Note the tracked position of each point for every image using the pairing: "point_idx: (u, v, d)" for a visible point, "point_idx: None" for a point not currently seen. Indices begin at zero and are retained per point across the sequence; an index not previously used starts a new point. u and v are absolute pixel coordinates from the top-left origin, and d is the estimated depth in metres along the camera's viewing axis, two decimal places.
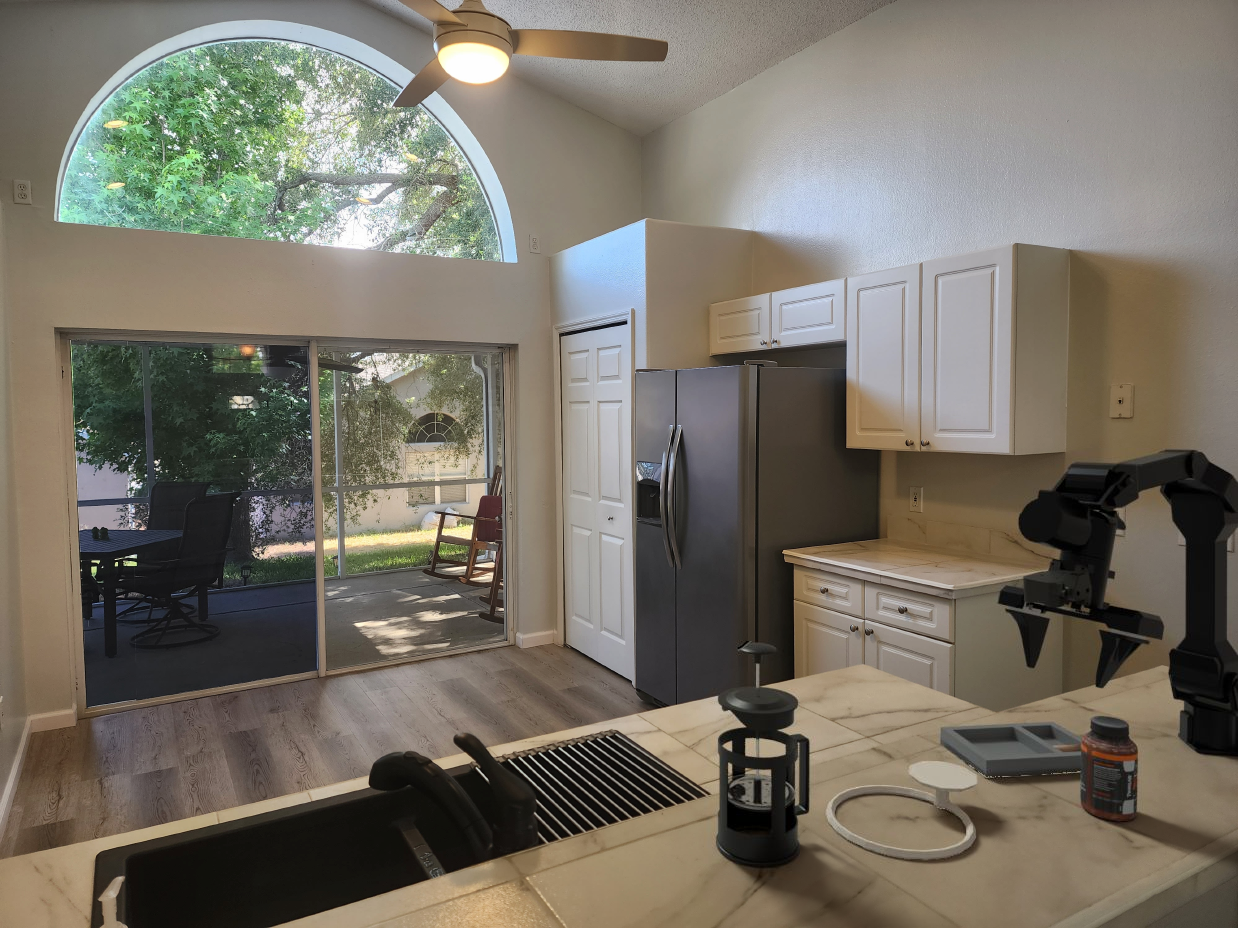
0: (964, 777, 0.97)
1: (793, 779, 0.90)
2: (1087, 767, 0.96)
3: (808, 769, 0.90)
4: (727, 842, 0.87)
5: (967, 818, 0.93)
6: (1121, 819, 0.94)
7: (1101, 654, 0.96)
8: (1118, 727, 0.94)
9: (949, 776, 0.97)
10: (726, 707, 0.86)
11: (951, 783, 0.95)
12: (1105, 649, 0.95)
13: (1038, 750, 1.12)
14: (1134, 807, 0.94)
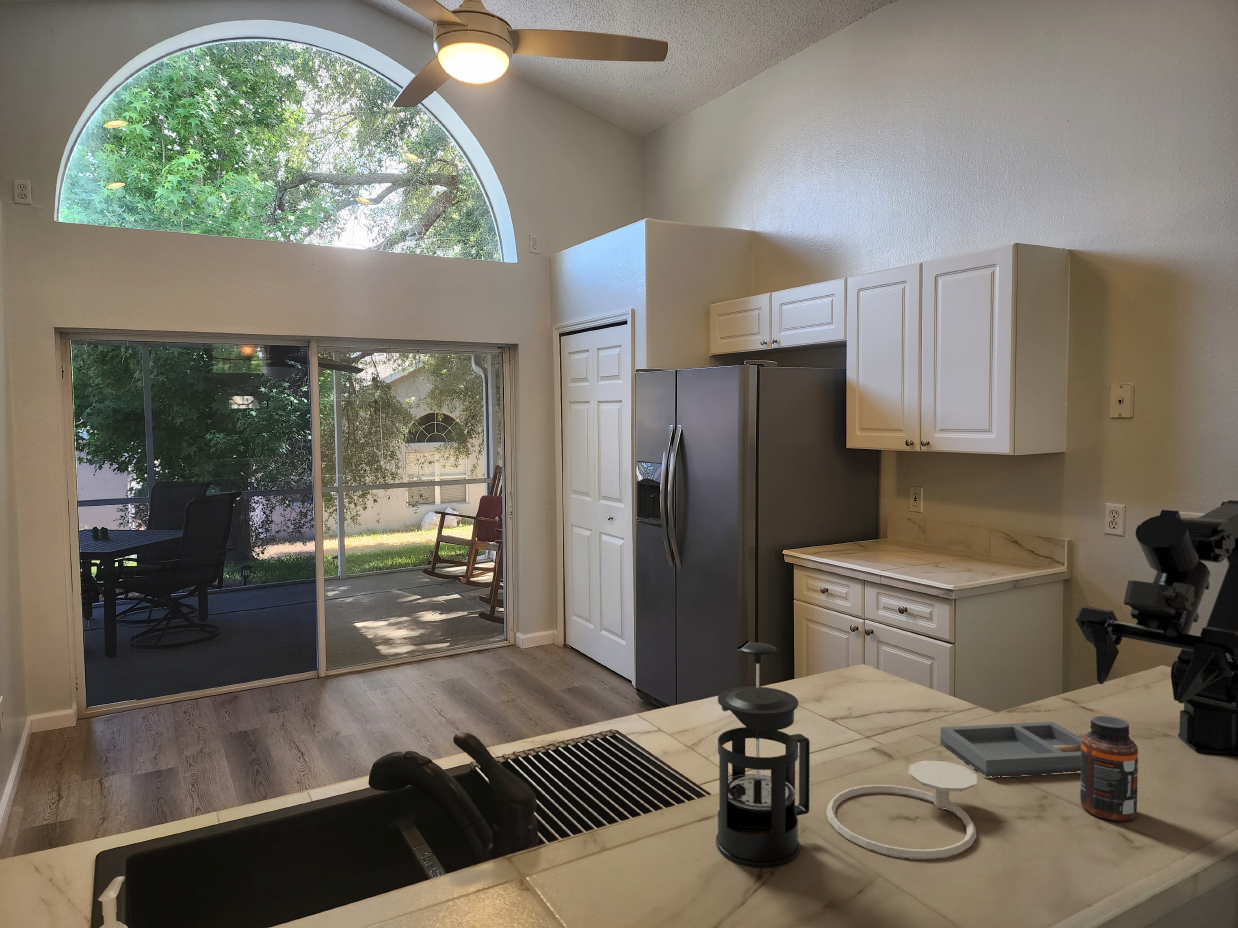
0: (964, 776, 0.97)
1: (793, 779, 0.90)
2: (1087, 767, 0.96)
3: (808, 769, 0.90)
4: (727, 842, 0.87)
5: (967, 817, 0.93)
6: (1121, 819, 0.94)
7: (1189, 669, 0.98)
8: (1118, 727, 0.94)
9: (949, 776, 0.98)
10: (726, 707, 0.86)
11: (951, 783, 0.96)
12: (1195, 664, 0.98)
13: (1038, 750, 1.12)
14: (1134, 807, 0.94)
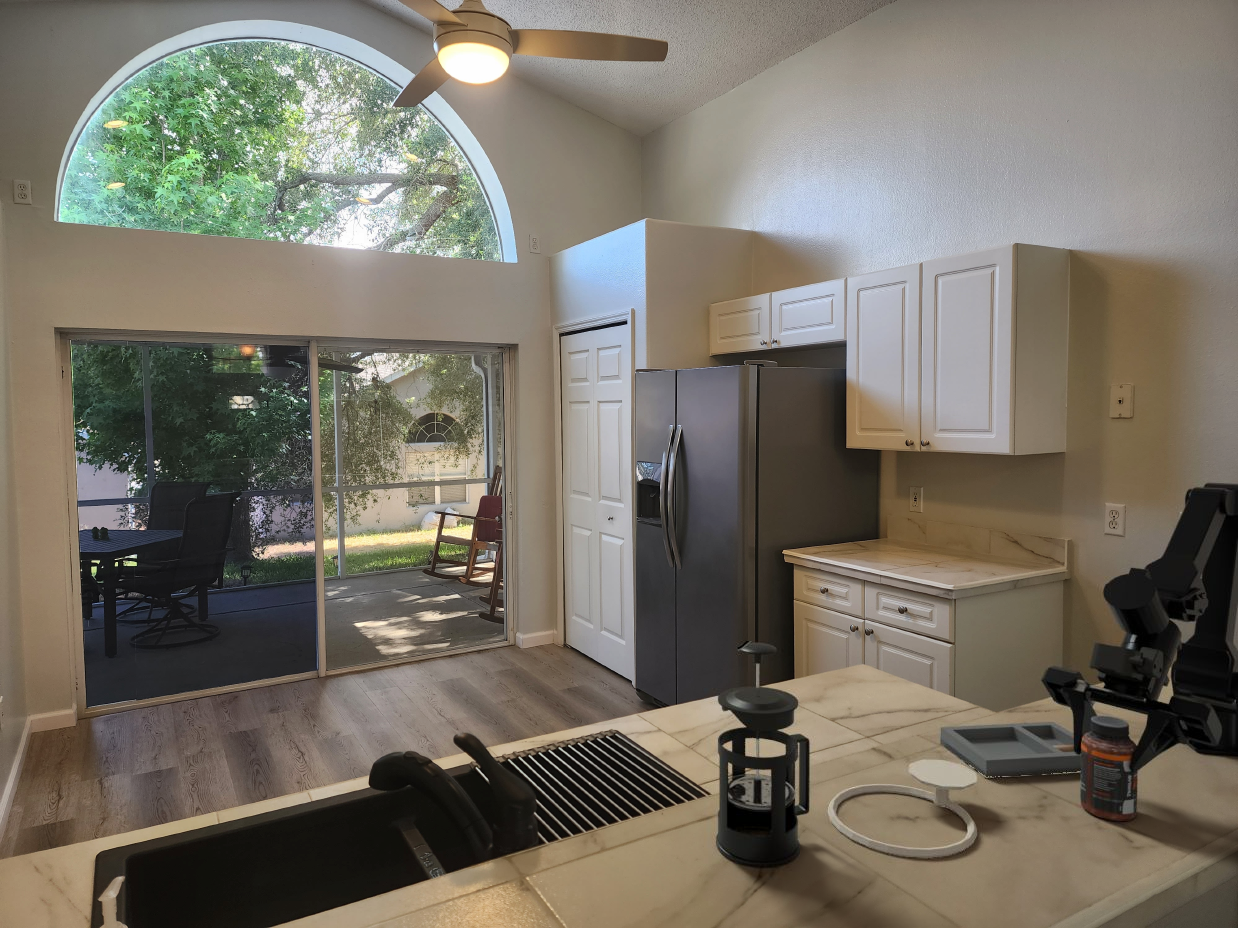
0: (964, 775, 0.98)
1: (793, 779, 0.90)
2: (1087, 767, 0.96)
3: (808, 769, 0.90)
4: (727, 842, 0.87)
5: (968, 816, 0.94)
6: (1121, 819, 0.94)
7: (1143, 736, 0.94)
8: (1118, 727, 0.94)
9: (948, 774, 0.98)
10: (726, 707, 0.86)
11: (951, 781, 0.96)
12: (1148, 731, 0.94)
13: (1038, 750, 1.12)
14: (1134, 807, 0.94)
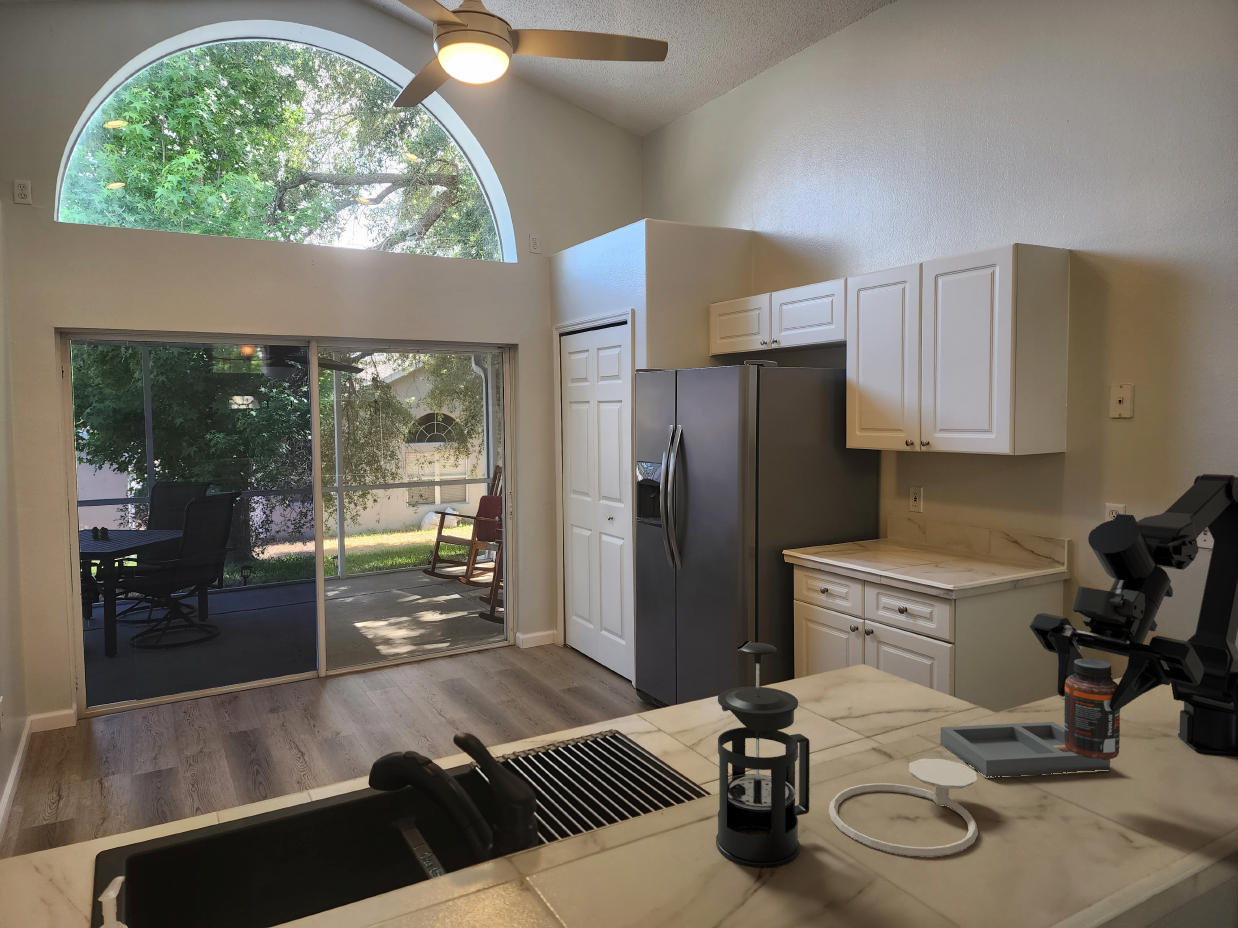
0: (964, 774, 0.98)
1: (793, 779, 0.90)
2: (1070, 708, 0.98)
3: (808, 769, 0.90)
4: (727, 842, 0.87)
5: (968, 814, 0.94)
6: (1102, 757, 0.96)
7: (1124, 676, 0.95)
8: (1100, 667, 0.96)
9: (948, 773, 0.98)
10: (726, 707, 0.86)
11: (951, 780, 0.96)
12: (1129, 671, 0.95)
13: (1038, 750, 1.12)
14: (1116, 746, 0.96)
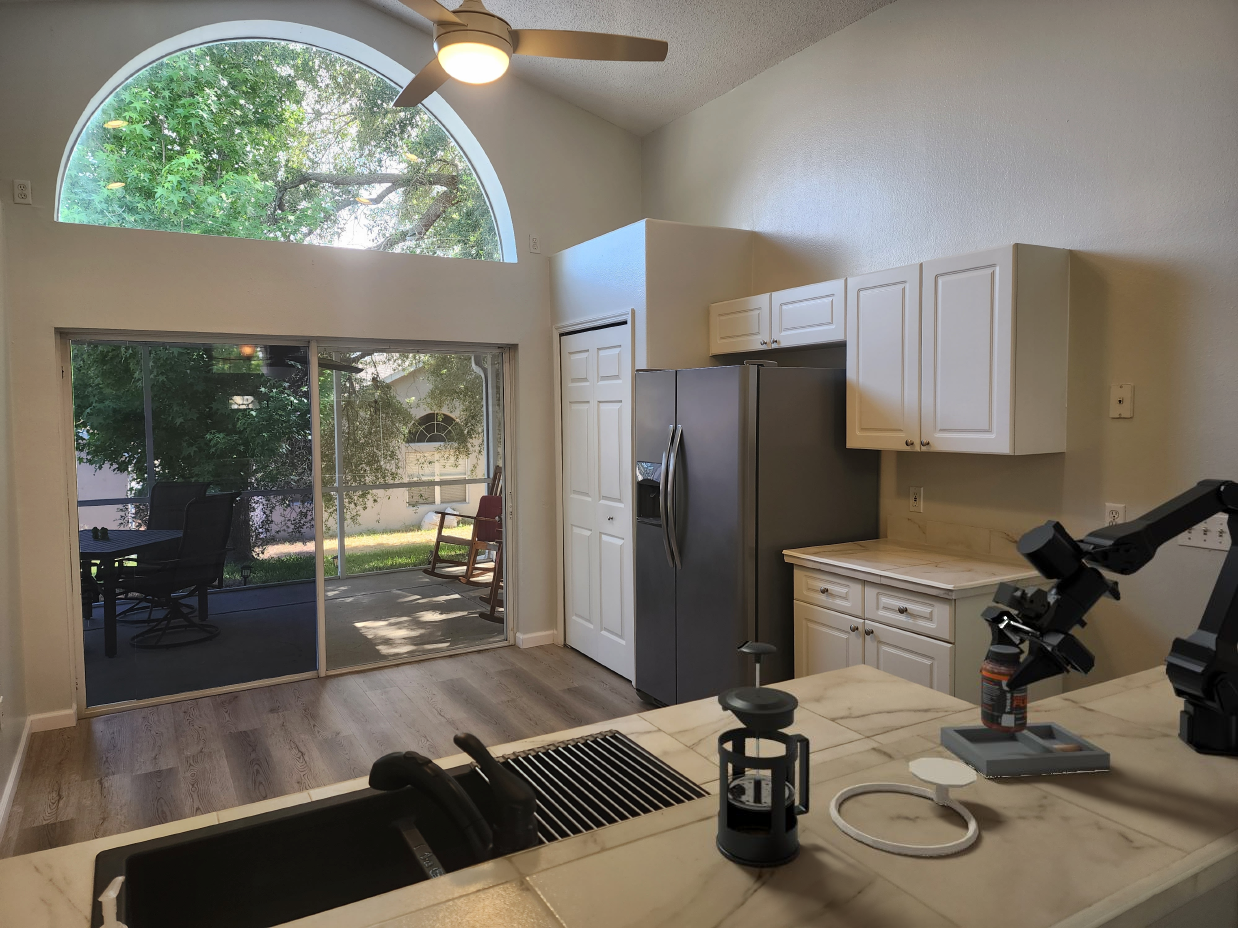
0: (964, 773, 0.98)
1: (793, 779, 0.90)
2: (981, 685, 1.13)
3: (808, 769, 0.90)
4: (727, 842, 0.87)
5: (968, 813, 0.94)
6: (1001, 729, 1.10)
7: (1022, 661, 1.09)
8: (1003, 652, 1.10)
9: (948, 772, 0.99)
10: (726, 707, 0.86)
11: (951, 779, 0.97)
12: (1027, 657, 1.08)
13: (1038, 750, 1.12)
14: (1016, 722, 1.09)
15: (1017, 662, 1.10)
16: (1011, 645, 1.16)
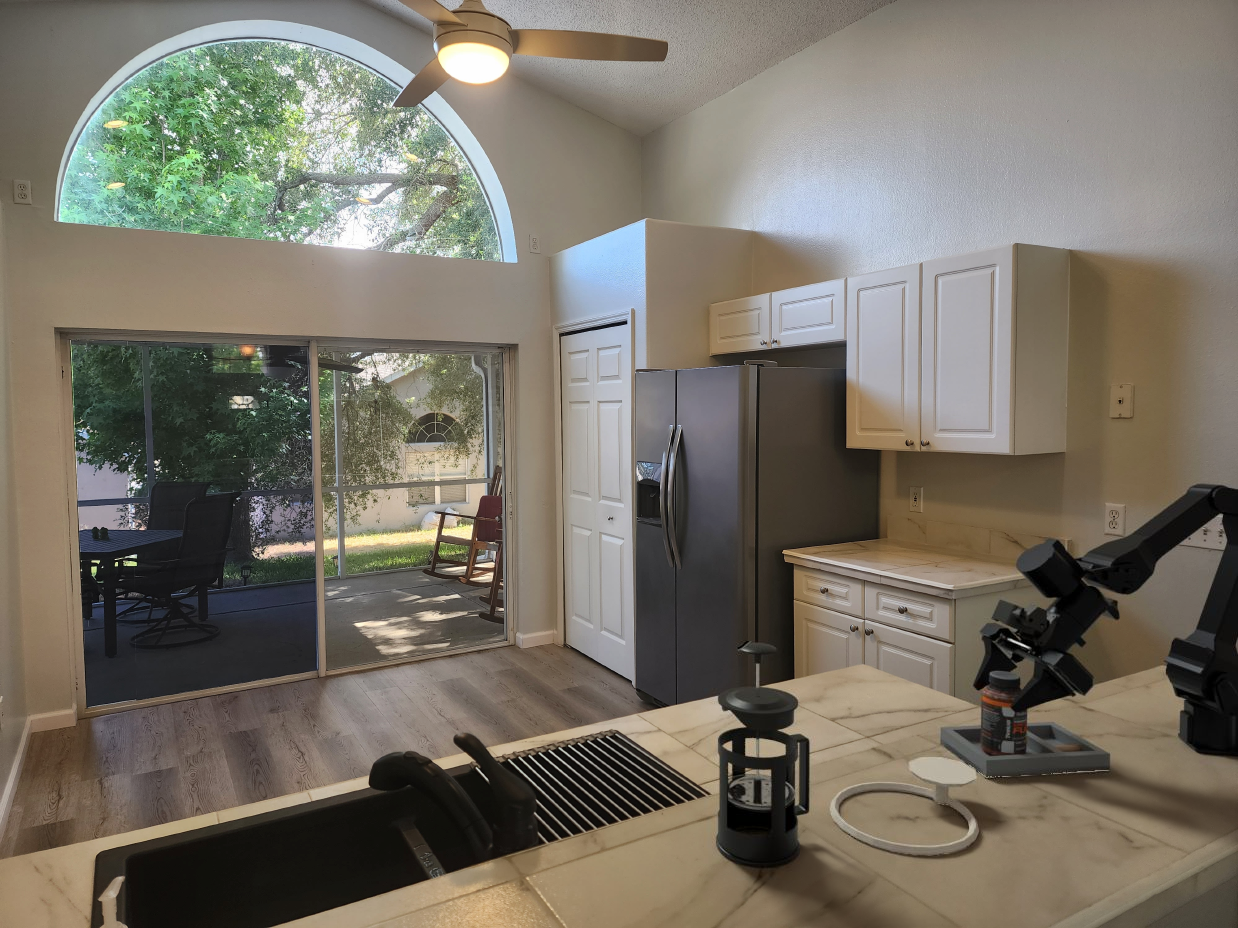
0: (964, 772, 0.99)
1: (793, 779, 0.90)
2: (981, 711, 1.13)
3: (808, 769, 0.90)
4: (727, 842, 0.87)
5: (968, 812, 0.95)
6: None
7: (1028, 683, 1.07)
8: (1003, 678, 1.11)
9: (948, 771, 0.99)
10: (726, 707, 0.86)
11: (951, 779, 0.97)
12: (1032, 679, 1.07)
13: (1038, 750, 1.12)
14: (1015, 749, 1.10)
15: (1017, 689, 1.11)
16: (1004, 660, 1.18)
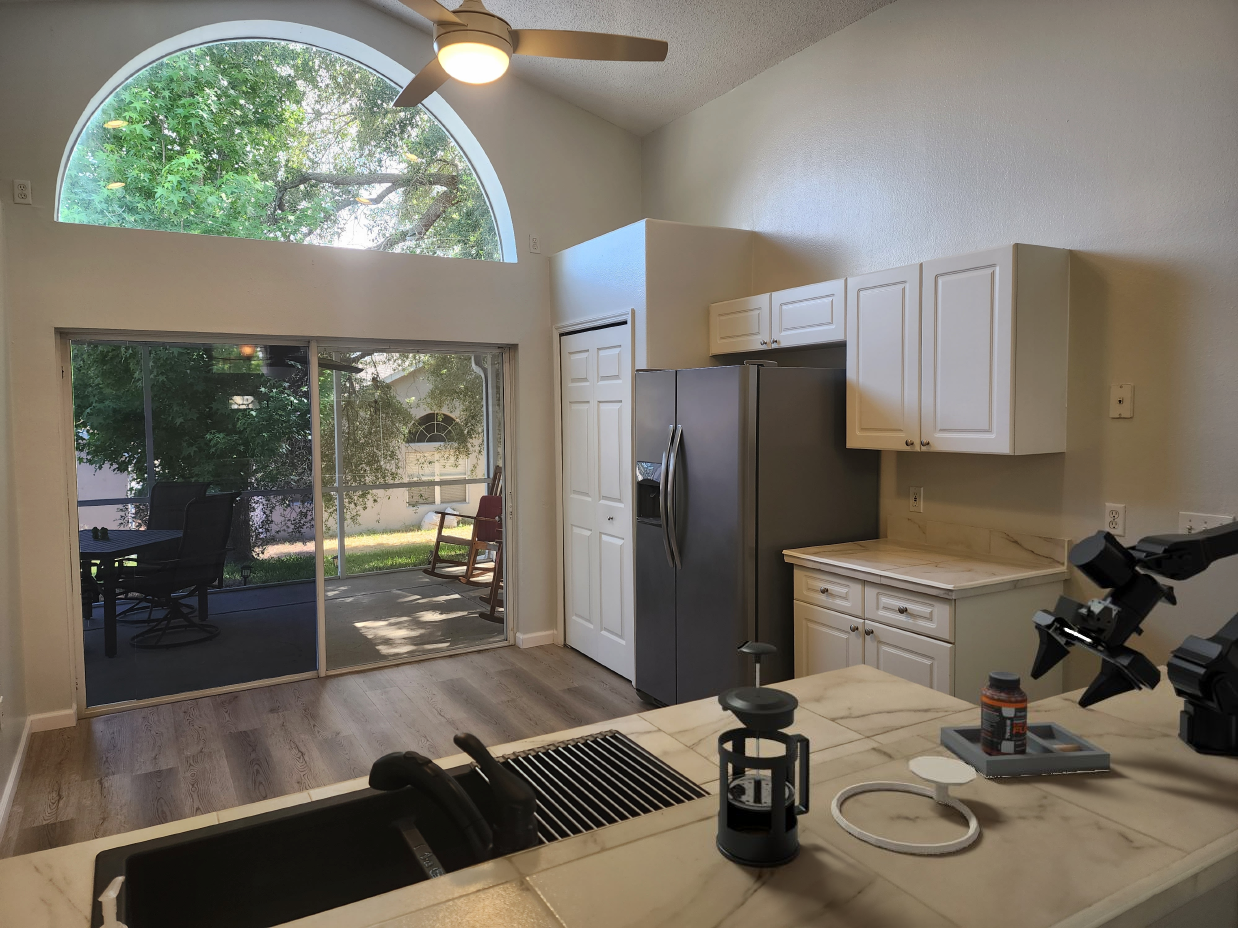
0: (963, 771, 0.99)
1: (793, 779, 0.90)
2: (981, 711, 1.13)
3: (808, 769, 0.90)
4: (727, 842, 0.87)
5: (969, 811, 0.95)
6: None
7: (1095, 679, 1.09)
8: (1003, 678, 1.11)
9: (948, 771, 0.99)
10: (726, 707, 0.86)
11: (952, 778, 0.97)
12: (1100, 676, 1.09)
13: (1038, 750, 1.12)
14: (1015, 749, 1.10)
15: (1017, 689, 1.11)
16: (1058, 647, 1.19)
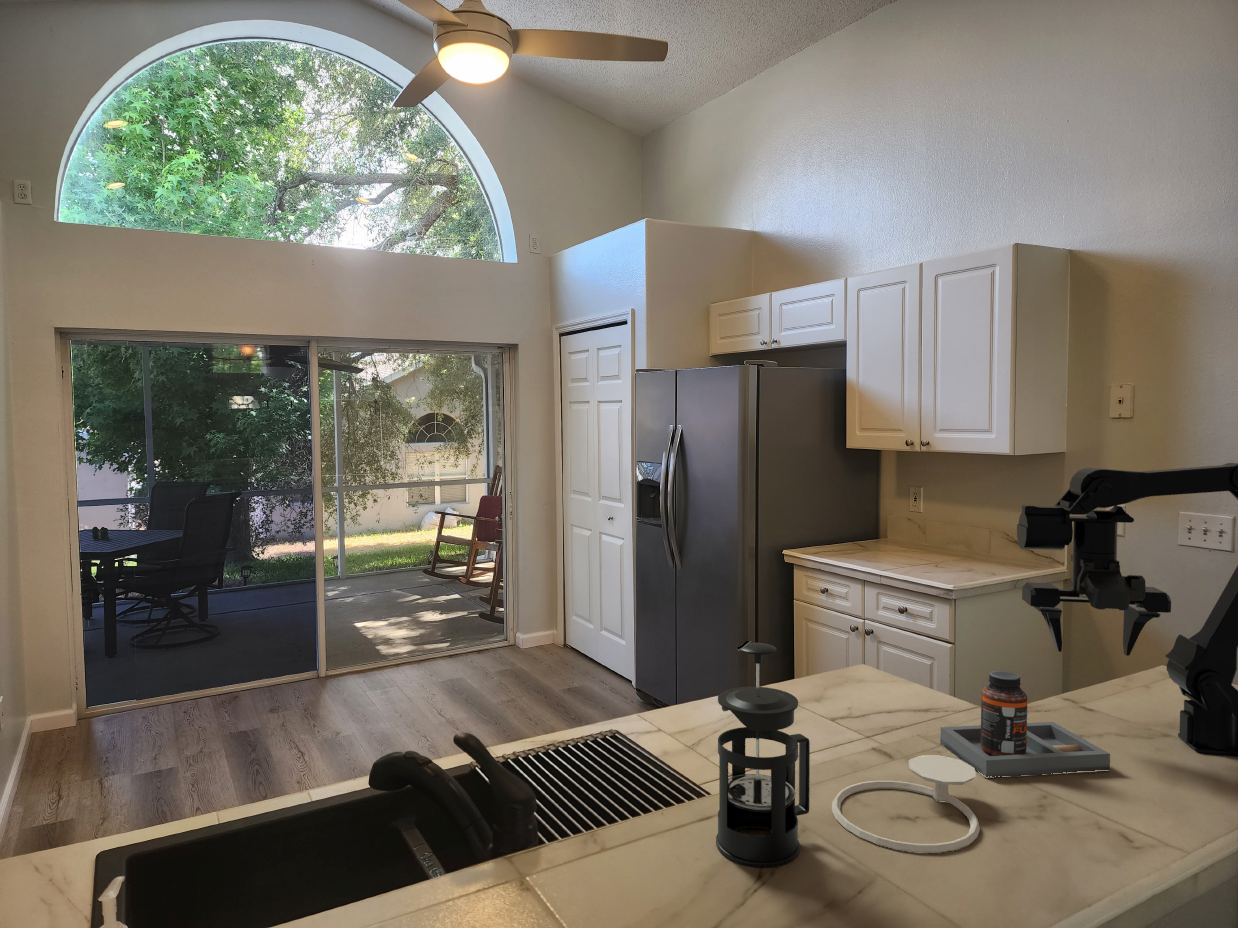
0: (963, 770, 0.99)
1: (793, 779, 0.90)
2: (981, 711, 1.13)
3: (808, 769, 0.90)
4: (727, 842, 0.87)
5: (969, 810, 0.95)
6: None
7: (1133, 630, 1.17)
8: (1003, 678, 1.11)
9: (948, 770, 0.99)
10: (726, 707, 0.86)
11: (952, 777, 0.97)
12: (1137, 626, 1.17)
13: (1038, 750, 1.12)
14: (1015, 749, 1.10)
15: (1017, 689, 1.11)
16: None
